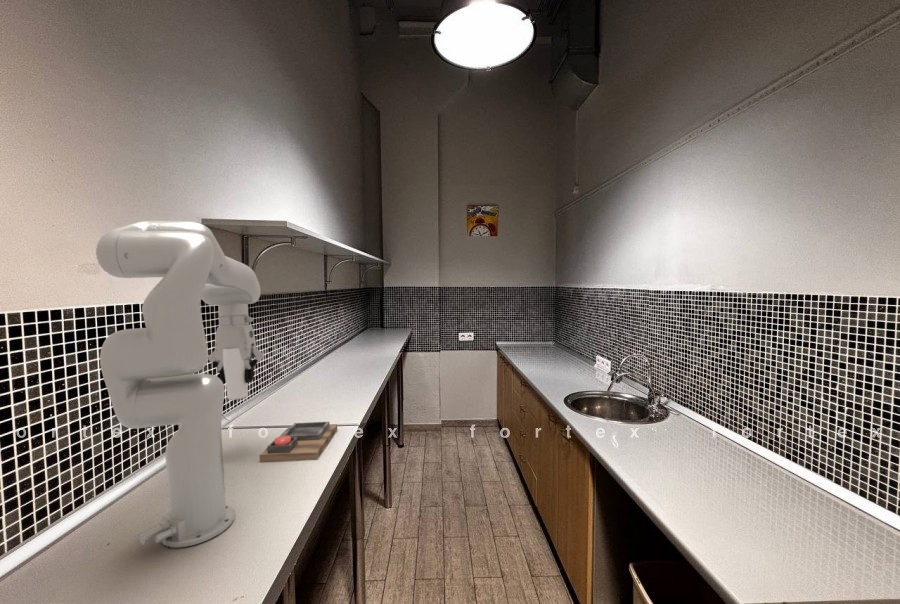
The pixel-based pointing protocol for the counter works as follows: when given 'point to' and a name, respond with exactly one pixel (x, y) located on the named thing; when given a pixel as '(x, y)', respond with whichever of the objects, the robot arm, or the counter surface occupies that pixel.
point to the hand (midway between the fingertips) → (237, 382)
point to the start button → (282, 440)
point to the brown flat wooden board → (301, 442)
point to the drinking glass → (234, 374)
